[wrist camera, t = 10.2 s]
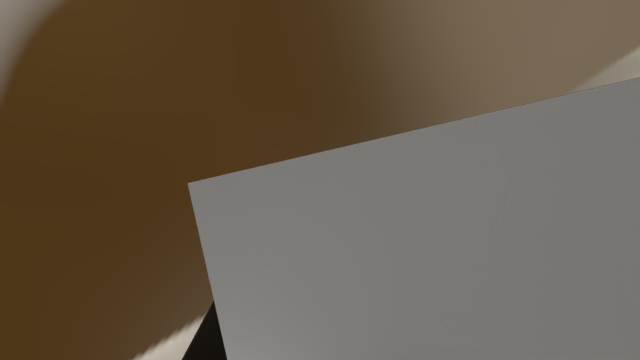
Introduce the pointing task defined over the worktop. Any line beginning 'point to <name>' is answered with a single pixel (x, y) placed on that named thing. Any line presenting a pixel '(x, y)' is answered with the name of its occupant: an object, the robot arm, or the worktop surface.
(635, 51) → the worktop surface
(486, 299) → the billet
